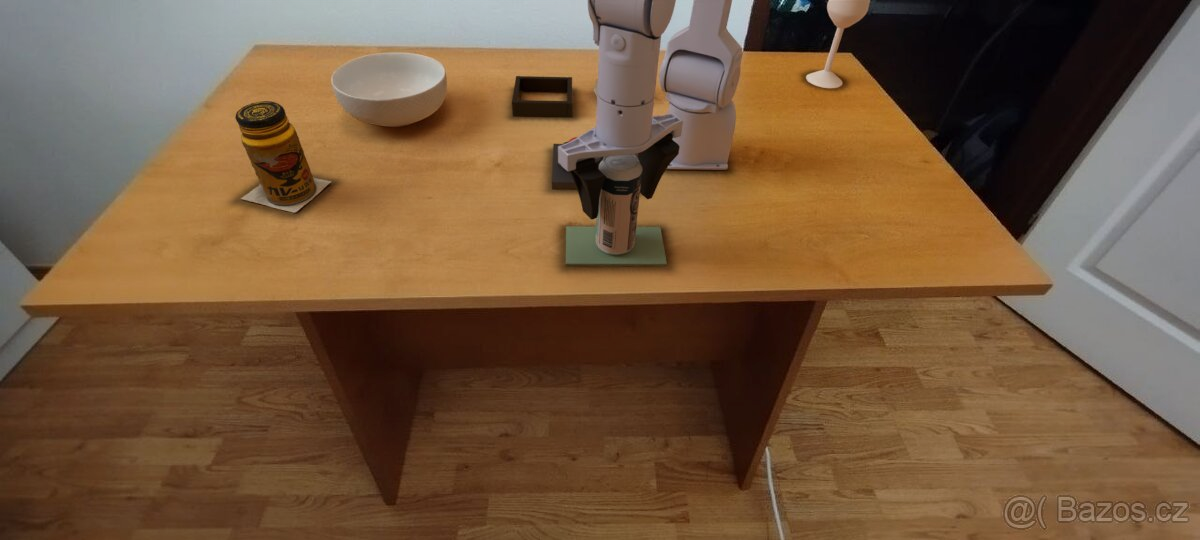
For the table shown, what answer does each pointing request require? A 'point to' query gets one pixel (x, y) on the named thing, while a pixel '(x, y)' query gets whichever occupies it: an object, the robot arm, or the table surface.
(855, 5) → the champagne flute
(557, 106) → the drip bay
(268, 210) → the table surface
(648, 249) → the mat
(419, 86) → the cereal bowl
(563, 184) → the control block
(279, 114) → the condiment
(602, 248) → the beer can
